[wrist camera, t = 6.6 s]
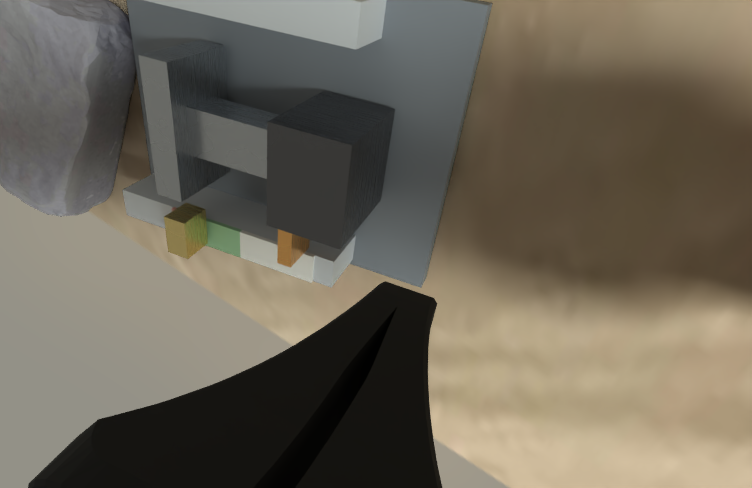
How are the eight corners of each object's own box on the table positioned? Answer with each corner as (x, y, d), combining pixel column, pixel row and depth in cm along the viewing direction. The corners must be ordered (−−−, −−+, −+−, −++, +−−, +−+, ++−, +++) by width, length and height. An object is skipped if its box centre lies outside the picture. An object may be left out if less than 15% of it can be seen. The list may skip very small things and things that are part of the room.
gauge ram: (398, 87, 18) (354, 120, 15) (374, 239, 22) (335, 292, 18) (201, 39, 20) (123, 58, 17) (211, 186, 24) (148, 226, 20)
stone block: (19, 111, 31) (122, 215, 29) (-76, 122, 27) (37, 243, 25) (32, -90, 24) (168, 31, 22) (-92, -114, 20) (61, 30, 18)
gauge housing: (492, 3, 17) (473, 14, 14) (425, 278, 23) (404, 321, 21) (132, -68, 20) (61, -69, 17) (165, 191, 27) (117, 218, 24)
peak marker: (205, 208, 21) (184, 223, 20) (207, 243, 22) (187, 258, 21) (186, 202, 21) (164, 216, 20) (189, 236, 22) (168, 251, 21)
